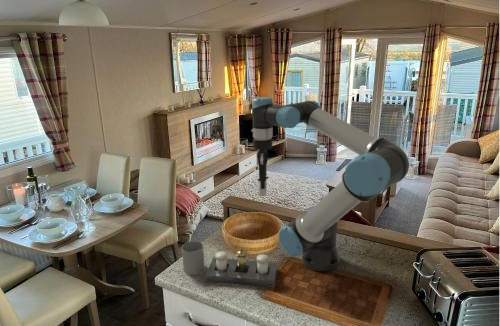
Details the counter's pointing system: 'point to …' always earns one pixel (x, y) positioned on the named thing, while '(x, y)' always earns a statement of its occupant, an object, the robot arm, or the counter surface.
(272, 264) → the panel
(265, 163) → the robot arm
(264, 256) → the knob
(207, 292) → the counter surface
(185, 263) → the cup
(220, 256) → the knob
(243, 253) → the brass slotted knob
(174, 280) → the counter surface
